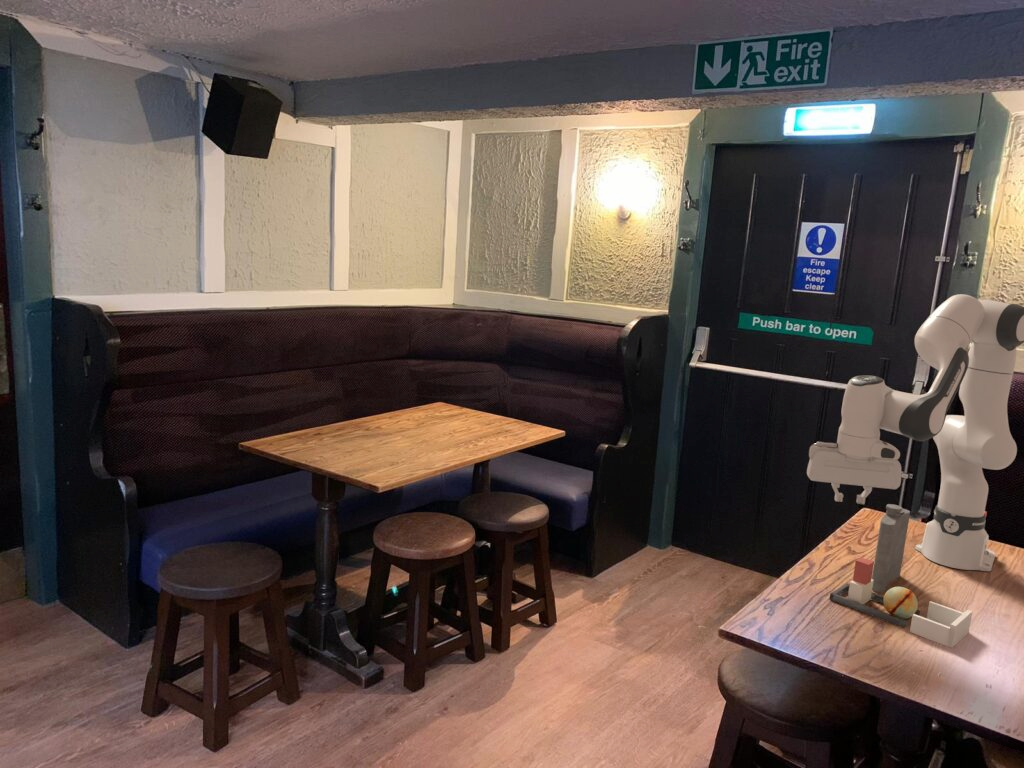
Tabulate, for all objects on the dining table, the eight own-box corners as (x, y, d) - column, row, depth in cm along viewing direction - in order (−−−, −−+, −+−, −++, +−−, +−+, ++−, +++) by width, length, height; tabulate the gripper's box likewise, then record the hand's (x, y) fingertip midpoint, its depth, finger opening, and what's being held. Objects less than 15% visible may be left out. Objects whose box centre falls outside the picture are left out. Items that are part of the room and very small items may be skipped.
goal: (927, 617, 178) (931, 597, 177) (968, 632, 172) (972, 611, 171) (909, 631, 170) (913, 610, 169) (951, 647, 164) (955, 626, 163)
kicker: (858, 594, 187) (863, 555, 185) (870, 599, 184) (876, 560, 182) (847, 601, 182) (853, 561, 181) (859, 606, 180) (865, 566, 178)
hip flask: (882, 594, 188) (894, 515, 185) (864, 588, 191) (876, 511, 187) (901, 575, 200) (913, 501, 197) (884, 570, 203) (896, 497, 199)
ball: (875, 614, 178) (879, 585, 176) (890, 606, 182) (895, 578, 181) (906, 627, 172) (910, 598, 171) (921, 619, 176) (925, 590, 175)
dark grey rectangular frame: (846, 588, 190) (847, 583, 190) (919, 615, 178) (920, 609, 178) (829, 599, 184) (830, 593, 184) (904, 627, 172) (905, 621, 172)
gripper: (813, 444, 179) (805, 501, 182) (907, 453, 176) (898, 511, 178) (808, 437, 185) (800, 493, 188) (899, 446, 182) (890, 502, 184)
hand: (849, 502), depth 183 cm, fingers open, 3 cm apart
